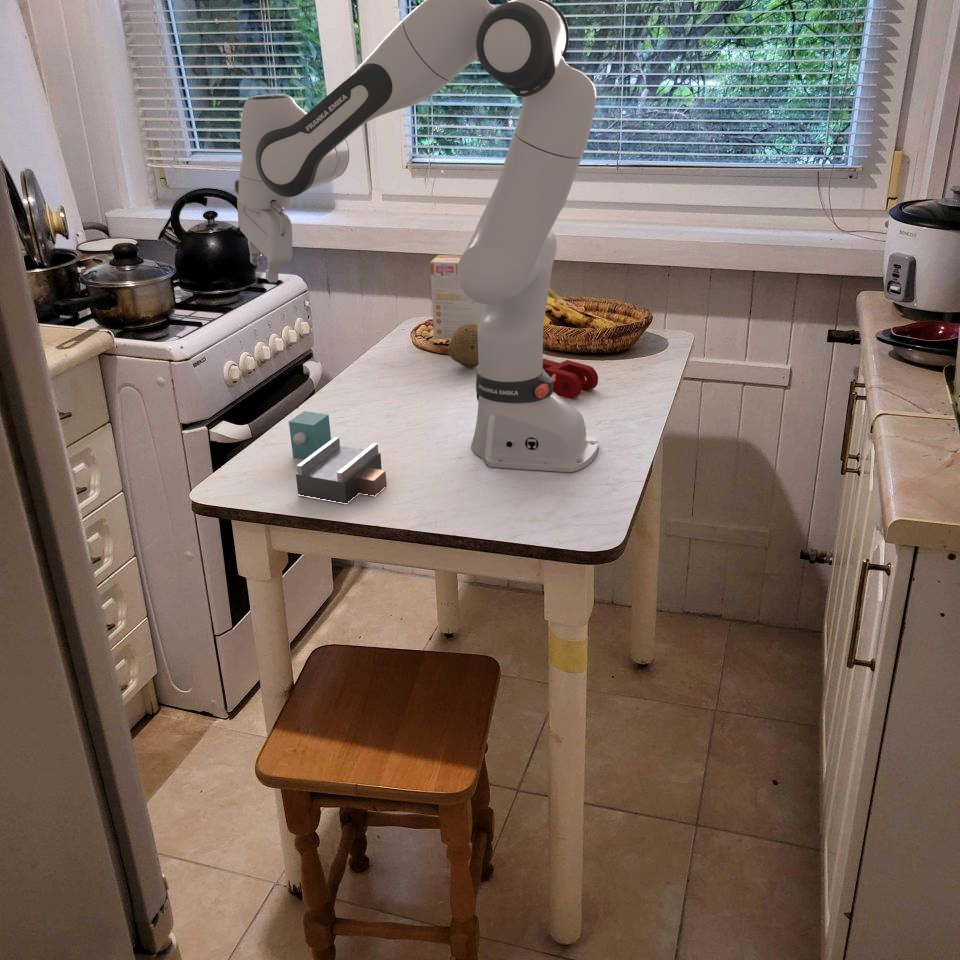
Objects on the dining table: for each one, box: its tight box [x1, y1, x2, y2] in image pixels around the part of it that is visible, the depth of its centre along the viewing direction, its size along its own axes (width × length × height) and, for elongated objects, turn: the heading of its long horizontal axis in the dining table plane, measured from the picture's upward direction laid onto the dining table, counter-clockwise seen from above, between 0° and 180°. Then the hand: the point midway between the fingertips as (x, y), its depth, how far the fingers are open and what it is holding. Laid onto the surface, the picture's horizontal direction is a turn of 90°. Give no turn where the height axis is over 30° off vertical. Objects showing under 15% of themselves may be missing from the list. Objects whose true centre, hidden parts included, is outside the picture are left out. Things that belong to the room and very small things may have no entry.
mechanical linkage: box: [543, 358, 599, 400], centre depth 199 cm, size 16×7×5 cm, turn 47°
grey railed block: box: [295, 436, 388, 504], centre depth 160 cm, size 12×12×6 cm
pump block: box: [288, 410, 332, 460], centre depth 171 cm, size 5×6×7 cm
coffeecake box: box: [429, 254, 484, 340], centre depth 223 cm, size 15×7×20 cm, turn 77°
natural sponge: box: [447, 323, 478, 369], centre depth 209 cm, size 9×9×10 cm
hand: (263, 272), depth 172 cm, fingers open, 8 cm apart
